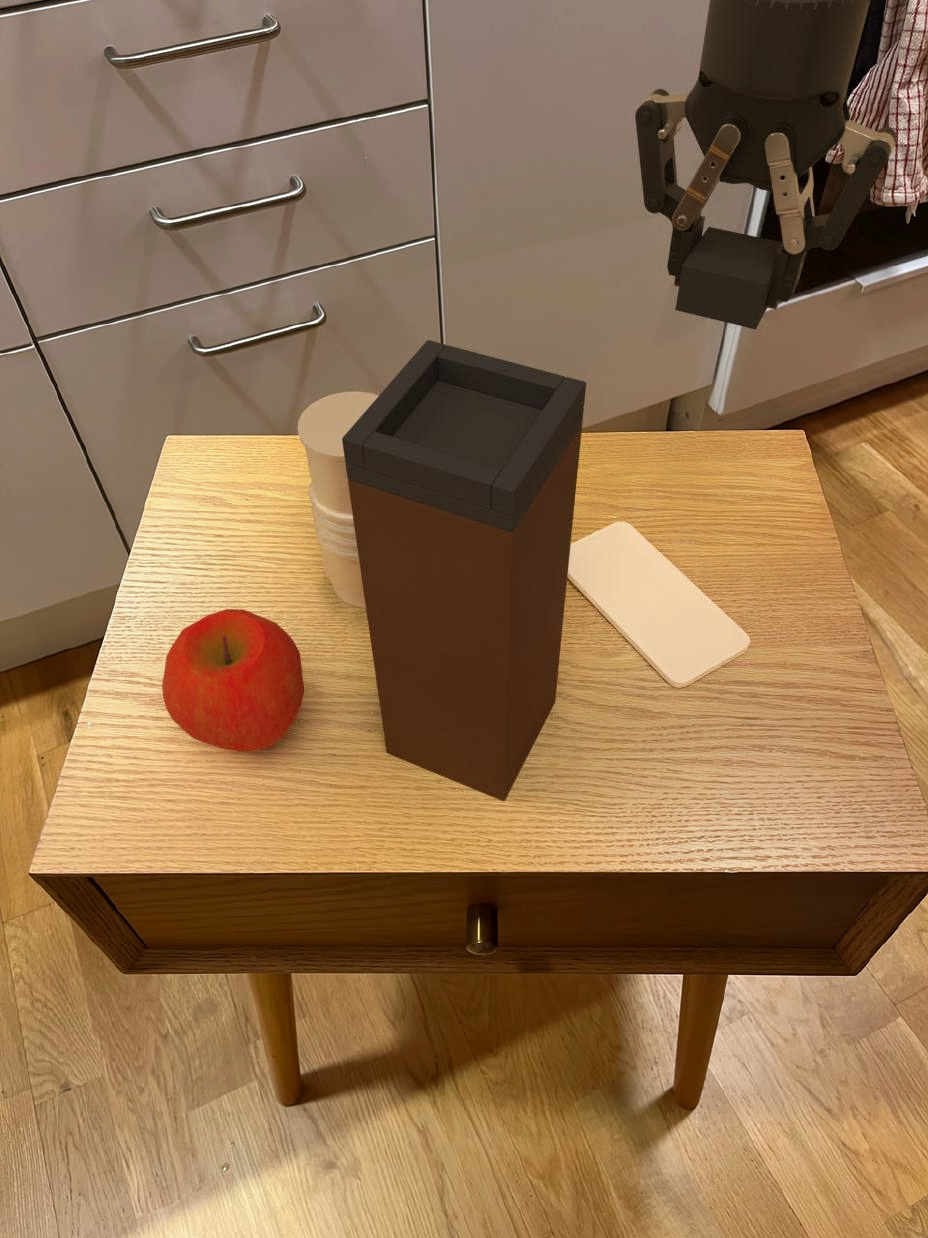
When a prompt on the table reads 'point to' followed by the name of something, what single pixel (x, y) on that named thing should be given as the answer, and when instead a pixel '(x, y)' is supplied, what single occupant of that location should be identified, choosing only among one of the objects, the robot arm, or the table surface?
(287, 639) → the apple
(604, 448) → the table surface
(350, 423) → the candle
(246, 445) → the table surface
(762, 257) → the dark brown square block
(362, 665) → the table surface
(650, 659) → the smartphone
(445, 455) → the brown square canister
